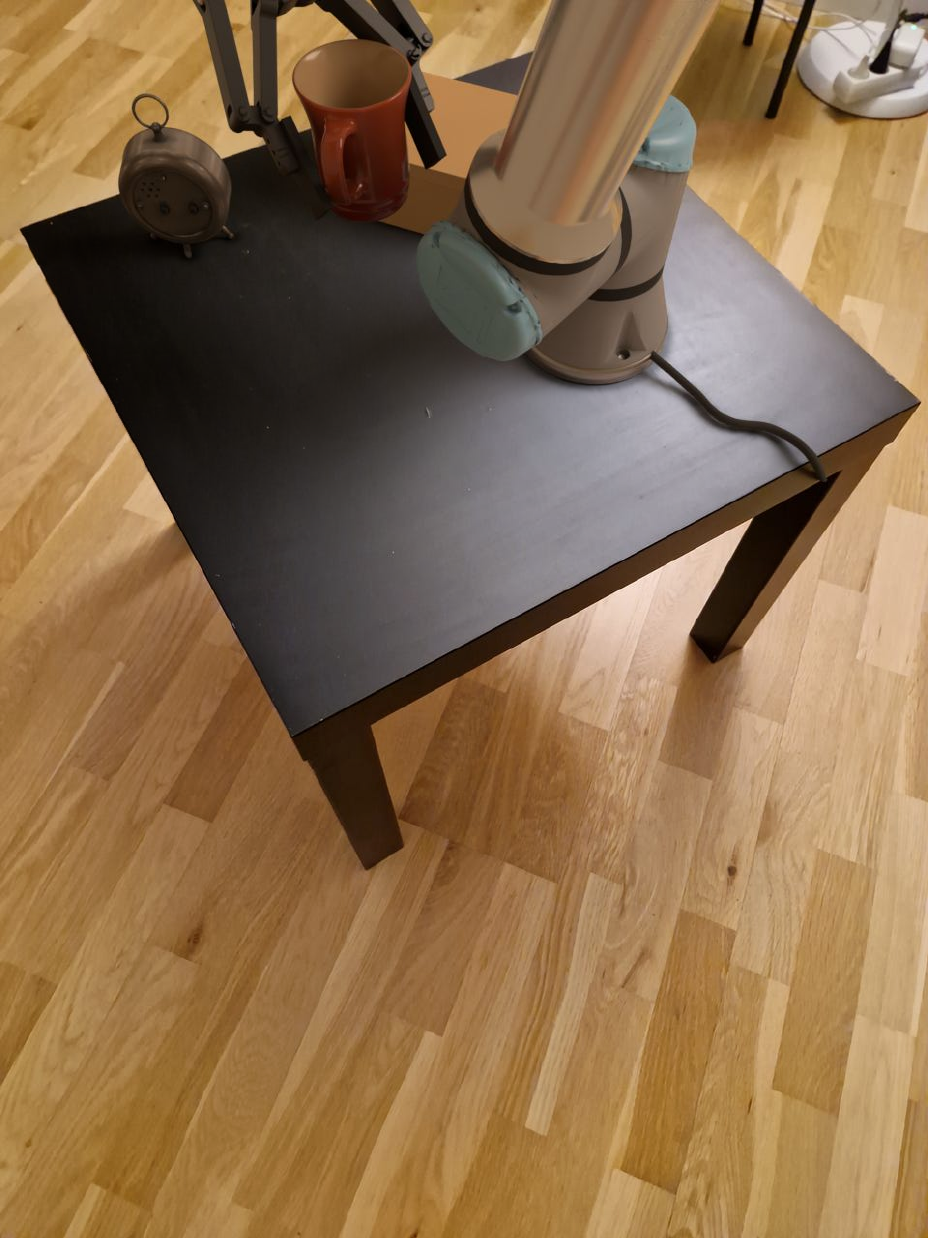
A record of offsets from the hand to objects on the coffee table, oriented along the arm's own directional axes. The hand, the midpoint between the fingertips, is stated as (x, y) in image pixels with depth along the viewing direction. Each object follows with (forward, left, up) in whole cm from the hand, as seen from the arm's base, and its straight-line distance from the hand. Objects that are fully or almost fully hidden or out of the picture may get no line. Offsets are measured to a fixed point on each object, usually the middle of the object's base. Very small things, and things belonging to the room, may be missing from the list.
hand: (381, 187), depth 64 cm
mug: (+3, -1, -4) cm, 5 cm away
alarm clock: (+30, -9, -21) cm, 38 cm away
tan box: (+9, -29, -21) cm, 37 cm away
